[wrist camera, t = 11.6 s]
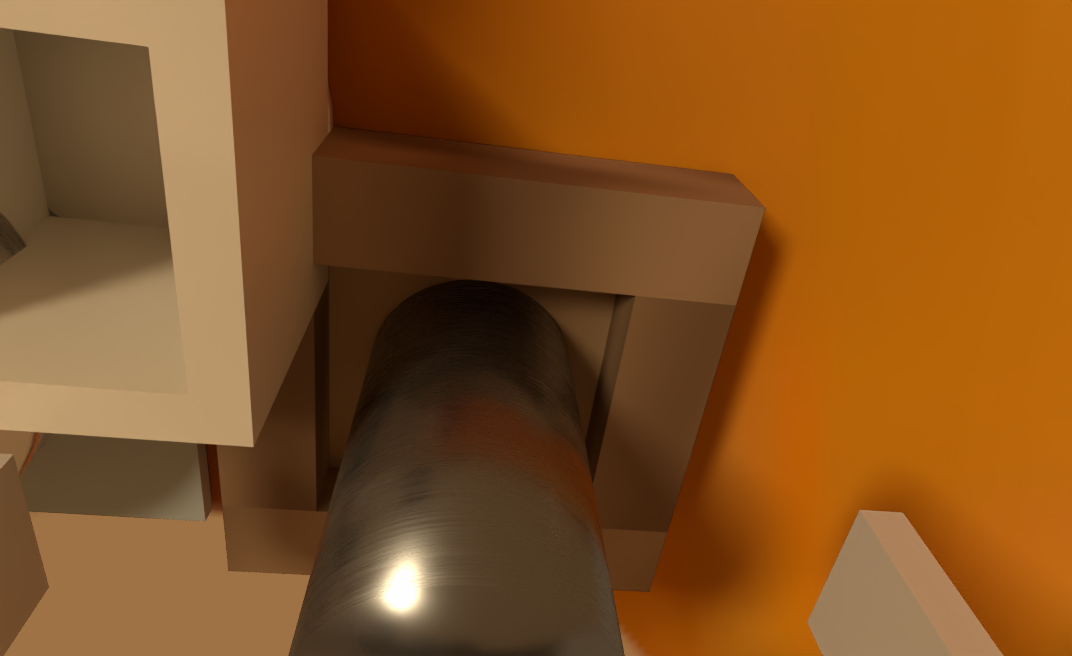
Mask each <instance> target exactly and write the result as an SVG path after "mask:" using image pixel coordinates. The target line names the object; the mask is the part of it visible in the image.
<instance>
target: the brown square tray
mask: <svg viewBox="0 0 1072 656" xmlns="http://www.w3.org/2000/svg"><path fill="white" fill-rule="evenodd" d="M312 210H313V264H318V265H328V282H327V284H326V286H325V289H324V291H323V293H322V295H321V298H320V300H319V302H318V304H317V307H316V309H315V311H314V313H313V315H312V318H311V320H310V322H309V324H308V327H307V329H306V331H305V333H304V336H303V338H302V340H301V342H300V345H299V347H298V349H297V351H296V353H295V356H294V358H293V360H292V362H291V365H290V367H289V369H288V371H287V374H286V376H285V378H284V380H283V382H282V385H281V387H280V389H279V391H278V394H277V396H276V398H275V400H274V403H273V405H272V407H271V409H270V411H269V414H268V416H267V418H266V420H265V423H264V425H263V427H262V429H261V432H260V434H259V436H258V438H257V441H256V443H255V445H254V447H245V446H230V445H216V446H217V456H218V467H219V477H220V488H221V498H222V508H223V519H224V529H225V540H226V550H227V559H228V571H243V572H261V573H262V572H263V573H282V574H301V575H311V571H312V568H313V564H314V560H315V557H316V553H317V549H318V546H319V542H320V539H321V535H322V531H323V528H324V524H325V520H326V517H327V513H328V509H329V506H330V502H331V498H332V495H333V491H334V487H335V484H336V480H337V476H338V473H339V469H340V465H341V462H342V458H343V454H344V451H345V447H346V443H347V440H348V436H349V432H350V429H351V425H352V421H353V418H354V414H355V410H356V407H357V403H358V399H359V396H360V392H361V388H362V385H363V381H364V377H365V374H366V370H367V366H368V363H369V359H370V355H371V352H372V348H373V344H374V341H375V338H376V336H377V333H378V331H379V329H380V327H381V325H382V324H383V322H384V321H385V319H386V318H387V317H388V315H389V314H390V313H391V312H392V311H393V310H394V309H395V308H396V307H397V306H398V305H399V304H400V303H401V302H403V301H404V300H405V299H407V298H408V297H410V296H411V295H413V294H414V293H417V292H419V291H421V290H423V289H425V288H427V287H430V286H433V285H436V284H439V283H443V282H448V281H454V280H465V279H468V280H481V281H491V282H496V283H499V284H503V285H507V286H509V287H511V288H514V289H516V290H519V291H521V292H522V293H524V294H526V295H528V296H530V297H531V298H532V299H534V300H535V301H536V302H538V303H539V304H540V305H541V306H542V307H543V308H545V309H546V310H547V311H548V312H549V313H550V315H551V316H552V317H553V319H554V320H555V321H556V323H557V324H558V326H559V328H560V330H561V331H562V333H563V336H564V339H565V341H566V344H567V349H568V353H569V359H570V364H571V370H572V375H573V380H574V386H575V391H576V396H577V402H578V407H579V413H580V418H581V423H582V429H583V434H584V440H585V445H586V450H587V456H588V461H589V467H590V472H591V477H592V483H593V488H594V494H595V499H596V504H597V510H598V515H599V521H600V526H601V531H602V537H603V542H604V548H605V553H606V558H607V564H608V569H609V575H610V580H611V585H612V590H623V591H643V592H649V591H650V588H651V585H652V581H653V578H654V575H655V571H656V568H657V565H658V561H659V558H660V555H661V552H662V548H663V545H664V542H665V538H666V535H667V532H668V528H669V525H670V522H671V519H672V515H673V512H674V509H675V505H676V502H677V499H678V495H679V492H680V489H681V486H682V482H683V479H684V476H685V472H686V469H687V466H688V462H689V459H690V456H691V453H692V449H693V446H694V443H695V439H696V436H697V433H698V429H699V426H700V423H701V420H702V416H703V413H704V410H705V406H706V403H707V400H708V396H709V393H710V390H711V387H712V383H713V380H714V377H715V373H716V370H717V367H718V363H719V360H720V357H721V353H722V350H723V347H724V344H725V340H726V337H727V334H728V330H729V327H730V324H731V320H732V317H733V314H734V311H735V307H736V304H737V301H738V297H739V294H740V291H741V287H742V284H743V281H744V278H745V274H746V271H747V268H748V264H749V261H750V258H751V254H752V251H753V248H754V245H755V241H756V238H757V235H758V231H759V228H760V225H761V221H762V218H763V215H764V212H765V207H764V206H763V205H762V204H761V203H760V202H759V201H758V200H757V198H756V197H755V196H754V195H753V194H752V193H751V192H750V191H749V190H748V189H747V188H746V187H745V186H744V185H743V184H742V183H741V182H740V181H739V180H738V179H737V178H736V177H735V176H734V175H733V174H726V173H718V172H710V171H701V170H693V169H685V168H676V167H668V166H660V165H651V164H643V163H635V162H626V161H618V160H610V159H602V158H593V157H585V156H577V155H568V154H560V153H552V152H543V151H535V150H527V149H518V148H510V147H502V146H493V145H485V144H477V143H468V142H460V141H452V140H443V139H435V138H427V137H418V136H410V135H402V134H394V133H385V132H377V131H369V130H360V129H352V128H344V127H335V126H334V127H333V128H332V130H331V131H330V132H329V134H328V135H327V136H326V137H325V139H324V140H323V141H322V143H321V144H320V145H319V147H318V148H317V149H316V151H315V152H314V153H313V155H312Z"/></svg>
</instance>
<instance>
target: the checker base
mask: <svg viewBox="0 0 1072 656" xmlns="http://www.w3.org/2000/svg"><path fill="white" fill-rule="evenodd" d="M48 210H49V215H50V216H55V217H59V216H57V215H56V214H55V213H53V212H52V211H51V210H50V209H49V208H48ZM19 477H20V481H21V485H22V488H23V492H24V496H25V499H26V503H27V507H28V511H32V512H50V513H68V514H86V515H102V516H121V517H137V518H154V519H155V518H156V519H172V520H190V521H206V519H207V517H208V515H209V513H210V511H211V509H212V501H211V491H210V481H209V472H208V462H207V453H206V444H202V443H187V442H173V441H158V440H144V439H129V438H115V437H100V436H86V435H71V434H57V433H54V434H53V435H52V437H51V438H50V440H49V441H48V442H47V444H46V445H45V447H44V448H43V449H42V450H41V452H40V453H39V454H38V455H37V456H36V458H35V459H34V460H33V461H32V462H31V463H30V465H29V466H28V467H27V468H26V469H25V471H24V472H23V473H22V474H21V475H20V476H19Z"/></svg>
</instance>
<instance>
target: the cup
mask: <svg viewBox="0 0 1072 656" xmlns="http://www.w3.org/2000/svg"><path fill="white" fill-rule="evenodd" d="M333 127H334V119H333V105H332V100H331V95H330V89H329V84H328V0H0V212H1V213H2V214H3V215H4V216H5V217H6V218H7V219H8V221H9V222H10V223H11V225H12V226H13V227H14V229H15V230H16V231H17V233H18V234H19V235H20V237H21V238H22V239H23V241H24V242H25V243H26V245H27V247H25V248H24V249H22V250H21V251H19V252H18V253H17V254H15V255H14V256H12V257H11V258H9V259H8V260H7V261H5V262H4V263H2V264H1V265H0V430H13V431H28V432H42V433H57V434H71V435H86V436H100V437H115V438H129V439H144V440H158V441H173V442H187V443H202V444H216V445H230V446H245V447H254V445H255V443H256V441H257V438H258V436H259V434H260V432H261V429H262V427H263V425H264V423H265V420H266V418H267V416H268V414H269V411H270V409H271V407H272V405H273V403H274V400H275V398H276V396H277V394H278V391H279V389H280V387H281V385H282V382H283V380H284V378H285V376H286V374H287V371H288V369H289V367H290V365H291V362H292V360H293V358H294V356H295V353H296V351H297V349H298V347H299V345H300V342H301V340H302V338H303V336H304V333H305V331H306V329H307V327H308V324H309V322H310V320H311V318H312V315H313V313H314V311H315V309H316V307H317V304H318V302H319V300H320V298H321V295H322V293H323V291H324V289H325V286H326V284H327V282H328V265H318V264H313V210H312V155H313V153H314V152H315V151H316V149H317V148H318V147H319V145H320V144H321V143H322V141H323V140H324V139H325V137H326V136H327V135H328V134H329V132H330V131H331V130H332V128H333ZM48 208H49V209H50V210H51V211H52V212H53V213H55V214H56V215H57V216H59V217H55V216H50V215H49V210H48Z"/></svg>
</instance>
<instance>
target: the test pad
mask: <svg viewBox="0 0 1072 656" xmlns="http://www.w3.org/2000/svg"><path fill="white" fill-rule="evenodd" d="M25 247H27V245H26V243H25V242H24V241H23V239H22V238H21V237H20V235H19V234H18V233H17V231H16V230H15V229H14V227H13V226H12V225H11V223H10V222H9V221H8V219H7V218H6V217H5V216H4V215H3V214H2V213H1V212H0V265H1V264H2V263H4V262H5V261H7V260H8V259H9V258H11V257H12V256H14V255H15V254H17V253H18V252H19V251H21V250H22V249H24V248H25ZM53 434H54V433H42V432H28V431H13V430H0V453H1V454H13V455H14V458H15V462H16V466H17V470H18V473H19V476H20V475H21V474H22V473H23V472H24V471H25V469H26V468H27V467H28V466H29V465H30V463H31V462H32V461H33V460H34V459H35V458H36V456H37V455H38V454H39V453H40V452H41V450H42V449H43V448H44V447H45V445H46V444H47V442H48V441H49V440H50V438H51V437H52V435H53Z"/></svg>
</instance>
